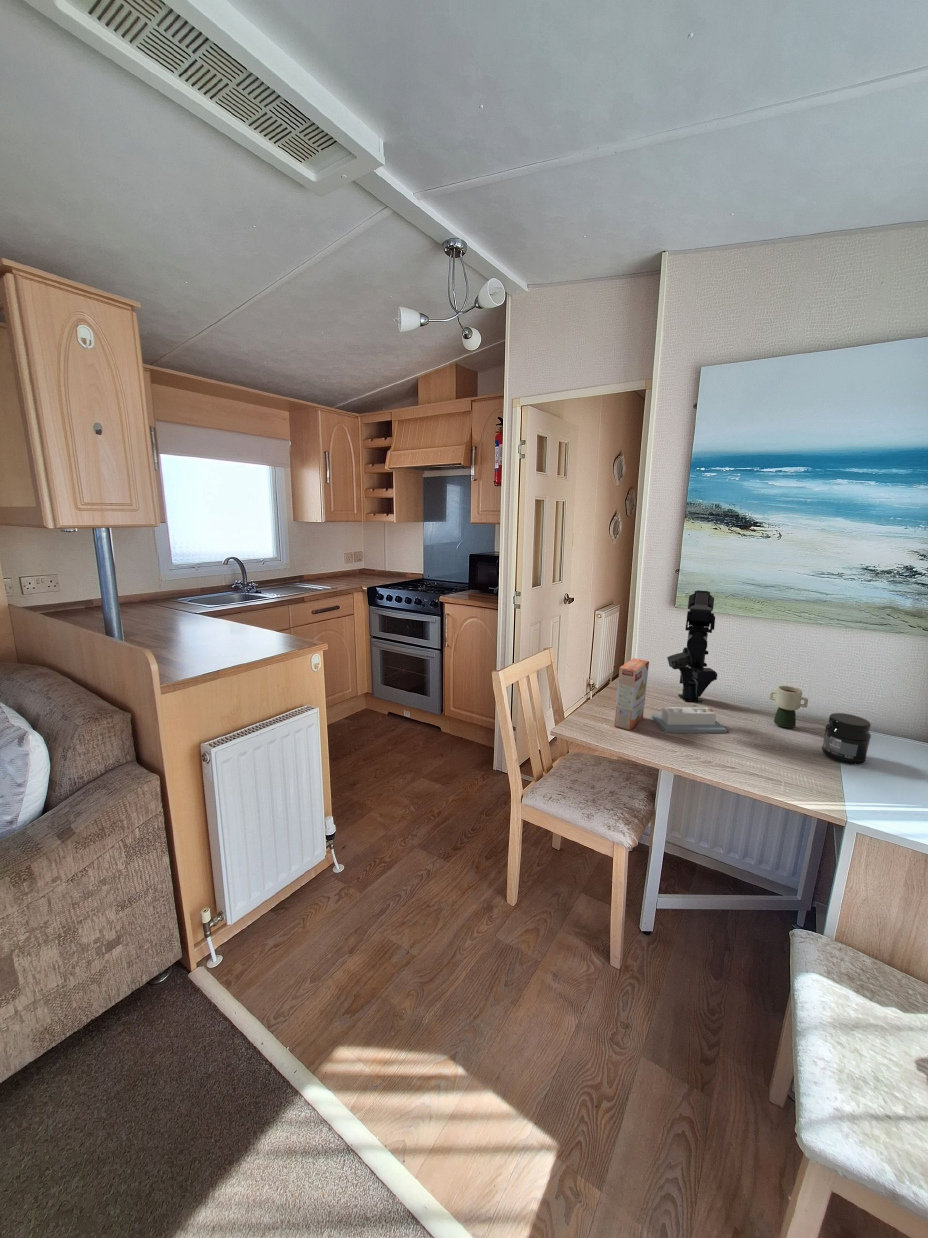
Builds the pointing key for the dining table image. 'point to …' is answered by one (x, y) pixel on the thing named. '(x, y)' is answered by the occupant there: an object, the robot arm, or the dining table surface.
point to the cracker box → (631, 693)
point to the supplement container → (846, 738)
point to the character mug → (787, 705)
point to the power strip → (688, 716)
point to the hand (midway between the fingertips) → (691, 691)
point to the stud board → (688, 726)
